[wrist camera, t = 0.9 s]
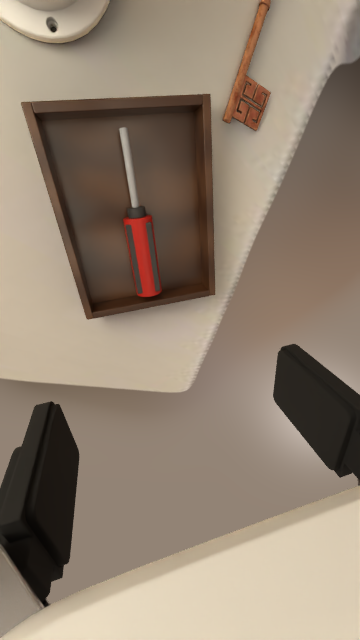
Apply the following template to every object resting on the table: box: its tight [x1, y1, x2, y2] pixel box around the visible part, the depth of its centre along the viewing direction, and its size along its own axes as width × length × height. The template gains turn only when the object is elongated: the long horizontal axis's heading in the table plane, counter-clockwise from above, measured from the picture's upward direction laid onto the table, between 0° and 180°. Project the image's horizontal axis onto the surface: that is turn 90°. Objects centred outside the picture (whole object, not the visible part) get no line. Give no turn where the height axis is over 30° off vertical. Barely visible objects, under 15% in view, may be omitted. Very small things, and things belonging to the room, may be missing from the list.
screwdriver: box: [119, 127, 162, 297], centre depth 29 cm, size 17×3×3 cm, turn 5°
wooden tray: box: [21, 94, 215, 319], centre depth 29 cm, size 21×17×3 cm
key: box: [223, 0, 271, 131], centre depth 25 cm, size 6×1×15 cm
